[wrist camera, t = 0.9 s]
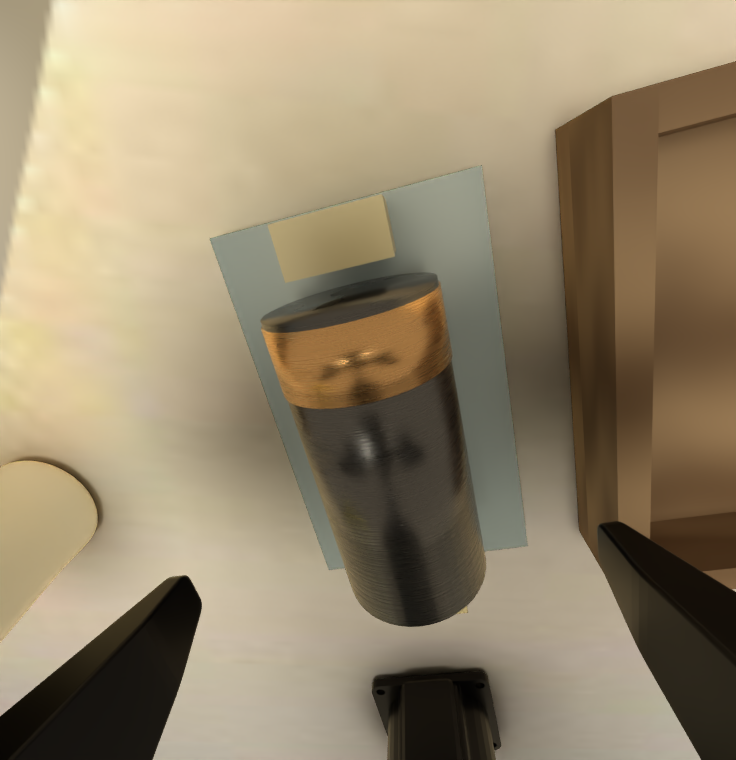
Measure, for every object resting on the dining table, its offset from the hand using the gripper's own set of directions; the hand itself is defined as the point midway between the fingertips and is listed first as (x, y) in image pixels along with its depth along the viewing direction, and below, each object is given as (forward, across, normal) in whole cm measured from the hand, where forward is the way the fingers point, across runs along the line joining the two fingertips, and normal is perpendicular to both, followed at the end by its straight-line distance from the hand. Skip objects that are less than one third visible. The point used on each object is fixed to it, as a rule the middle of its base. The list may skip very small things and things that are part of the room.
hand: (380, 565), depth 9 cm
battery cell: (+7, 0, 0) cm, 7 cm away
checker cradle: (+8, 0, 0) cm, 8 cm away
